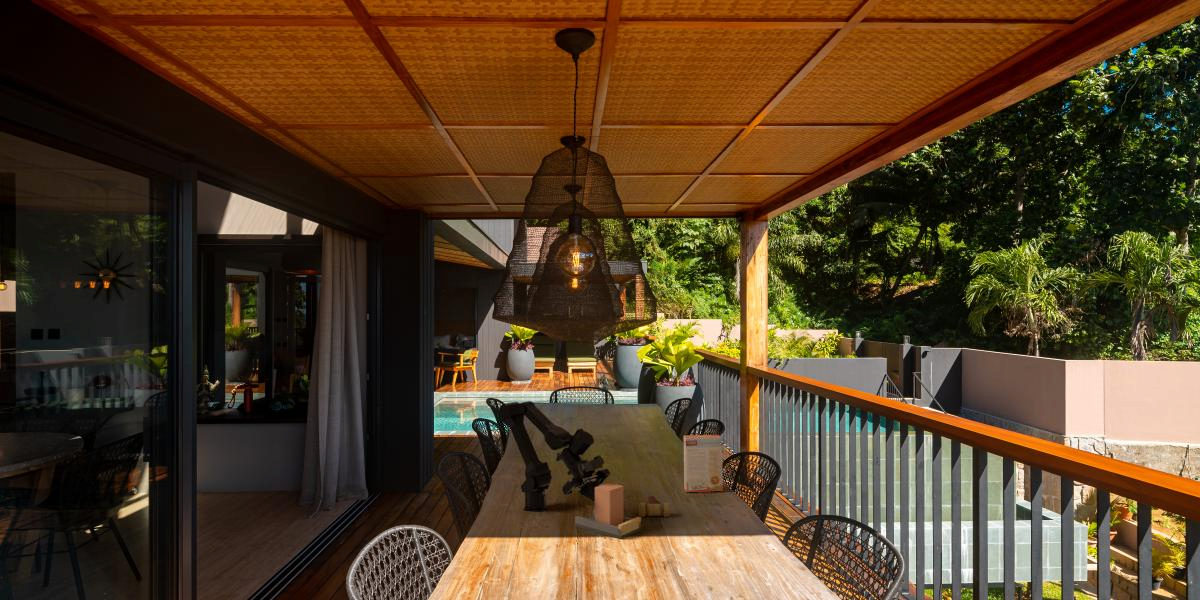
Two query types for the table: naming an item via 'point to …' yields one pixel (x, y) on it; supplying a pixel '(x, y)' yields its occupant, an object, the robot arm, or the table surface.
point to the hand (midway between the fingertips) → (601, 503)
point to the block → (609, 504)
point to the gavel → (654, 508)
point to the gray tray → (610, 526)
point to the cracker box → (703, 463)
